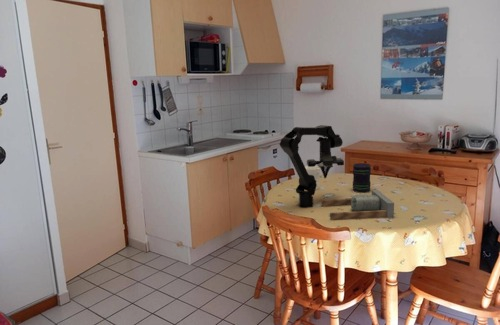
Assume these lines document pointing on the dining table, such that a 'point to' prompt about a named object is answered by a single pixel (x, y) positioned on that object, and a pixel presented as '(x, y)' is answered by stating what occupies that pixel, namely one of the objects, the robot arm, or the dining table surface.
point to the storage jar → (361, 177)
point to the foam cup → (314, 173)
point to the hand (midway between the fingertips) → (325, 178)
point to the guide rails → (351, 214)
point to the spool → (365, 203)
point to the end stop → (385, 203)
